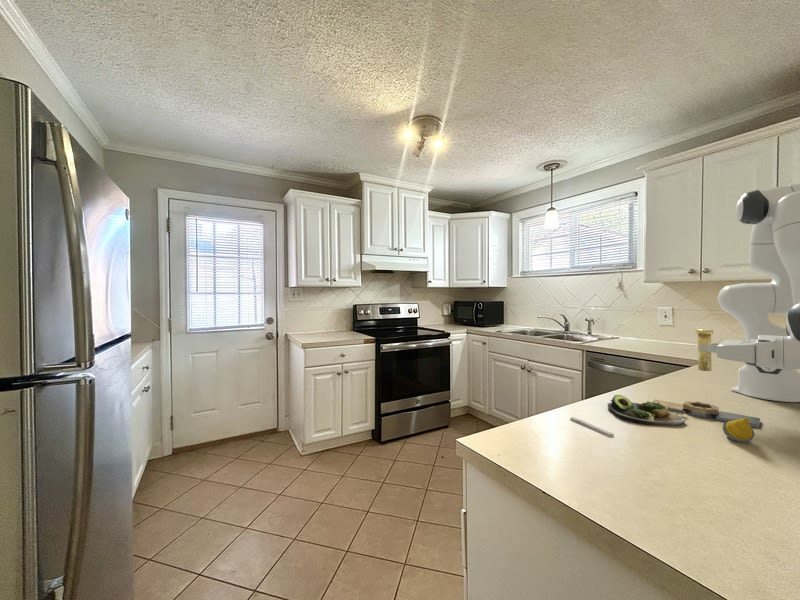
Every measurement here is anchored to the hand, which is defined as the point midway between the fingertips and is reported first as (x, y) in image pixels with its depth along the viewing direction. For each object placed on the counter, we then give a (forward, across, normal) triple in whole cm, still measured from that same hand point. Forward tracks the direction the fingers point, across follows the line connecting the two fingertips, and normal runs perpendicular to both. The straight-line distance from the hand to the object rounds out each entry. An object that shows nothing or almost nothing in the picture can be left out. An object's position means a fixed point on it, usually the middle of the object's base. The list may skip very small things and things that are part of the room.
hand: (700, 346), depth 102 cm
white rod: (+16, +40, +20) cm, 48 cm away
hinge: (-1, +5, +19) cm, 20 cm away
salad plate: (+11, +19, +20) cm, 29 cm away
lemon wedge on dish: (-11, +23, +20) cm, 32 cm away
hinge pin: (-1, 0, +7) cm, 7 cm away
